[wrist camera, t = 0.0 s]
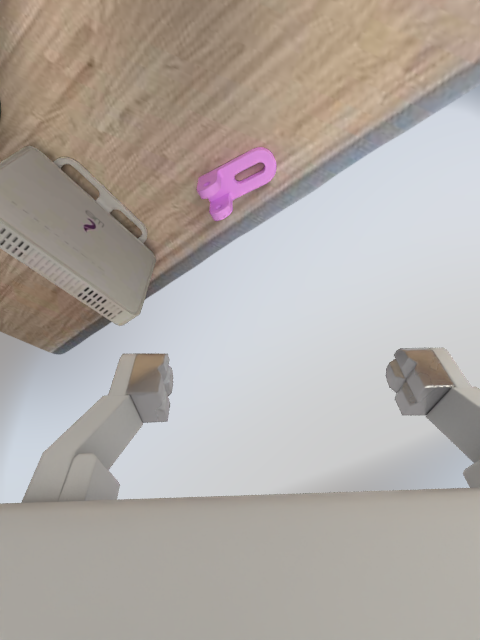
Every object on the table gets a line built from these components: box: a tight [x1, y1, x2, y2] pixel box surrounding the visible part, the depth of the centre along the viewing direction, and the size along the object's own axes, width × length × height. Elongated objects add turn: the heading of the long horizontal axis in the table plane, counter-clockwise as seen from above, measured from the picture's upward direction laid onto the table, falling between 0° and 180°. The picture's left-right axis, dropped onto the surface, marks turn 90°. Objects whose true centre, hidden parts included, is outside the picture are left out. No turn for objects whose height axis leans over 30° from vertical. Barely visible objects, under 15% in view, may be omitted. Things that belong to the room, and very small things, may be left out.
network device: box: [0, 146, 156, 326], centre depth 48 cm, size 26×9×20 cm, turn 36°
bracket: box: [197, 147, 276, 221], centre depth 50 cm, size 13×6×7 cm, turn 115°
